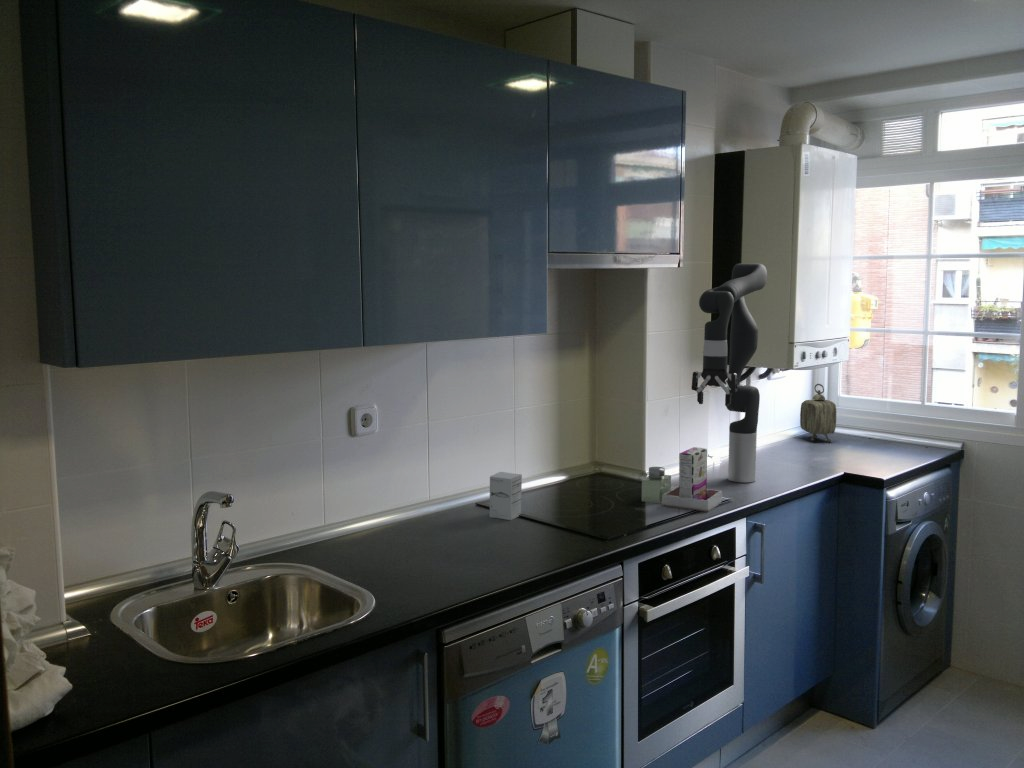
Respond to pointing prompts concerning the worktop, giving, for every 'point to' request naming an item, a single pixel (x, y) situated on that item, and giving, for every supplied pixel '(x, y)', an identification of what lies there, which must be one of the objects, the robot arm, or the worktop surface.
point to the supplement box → (505, 495)
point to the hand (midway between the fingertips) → (713, 404)
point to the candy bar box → (693, 473)
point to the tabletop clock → (818, 415)
